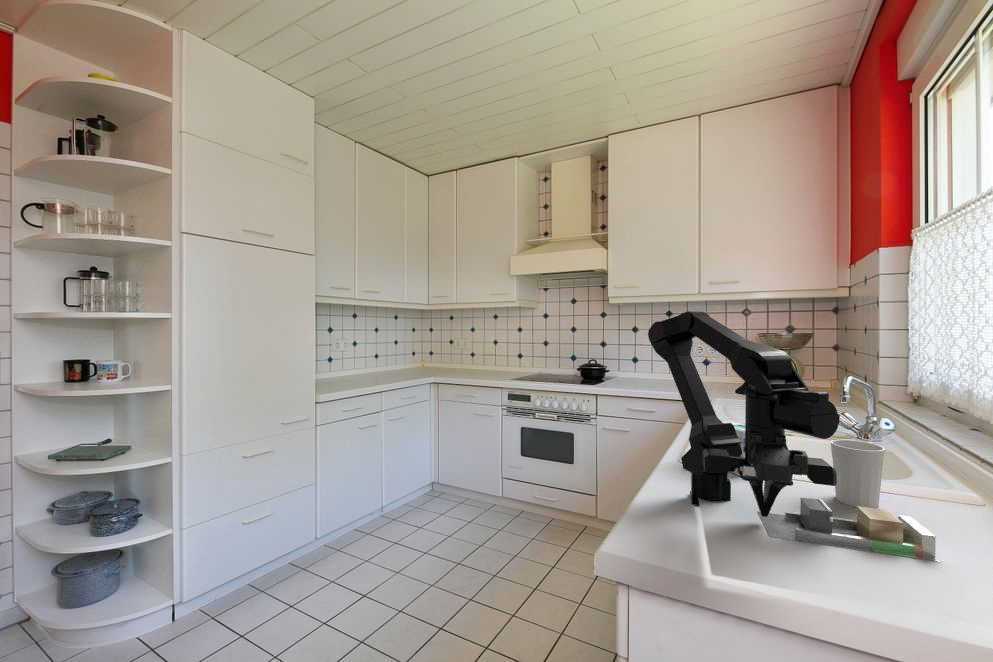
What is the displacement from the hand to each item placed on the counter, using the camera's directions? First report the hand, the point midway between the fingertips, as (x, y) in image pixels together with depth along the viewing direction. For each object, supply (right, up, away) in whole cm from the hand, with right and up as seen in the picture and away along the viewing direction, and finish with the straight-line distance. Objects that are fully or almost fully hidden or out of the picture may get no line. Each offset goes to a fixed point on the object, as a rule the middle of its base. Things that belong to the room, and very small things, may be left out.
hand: (763, 515), depth 74 cm
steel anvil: (+19, -1, -7) cm, 20 cm away
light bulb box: (+13, -2, +31) cm, 34 cm away
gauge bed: (+10, -3, -4) cm, 11 cm away
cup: (+23, -3, +9) cm, 25 cm away
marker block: (+14, -1, -6) cm, 16 cm away
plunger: (+7, -1, -3) cm, 7 cm away
